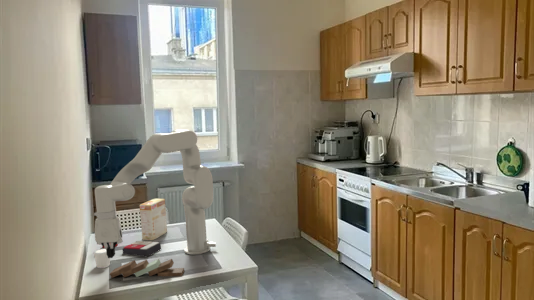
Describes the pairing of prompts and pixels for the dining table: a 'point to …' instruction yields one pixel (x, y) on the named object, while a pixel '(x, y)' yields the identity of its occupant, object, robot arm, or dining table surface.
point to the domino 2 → (136, 268)
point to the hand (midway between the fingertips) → (111, 256)
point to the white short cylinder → (101, 258)
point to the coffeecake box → (153, 219)
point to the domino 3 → (149, 267)
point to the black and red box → (142, 248)
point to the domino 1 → (123, 269)
